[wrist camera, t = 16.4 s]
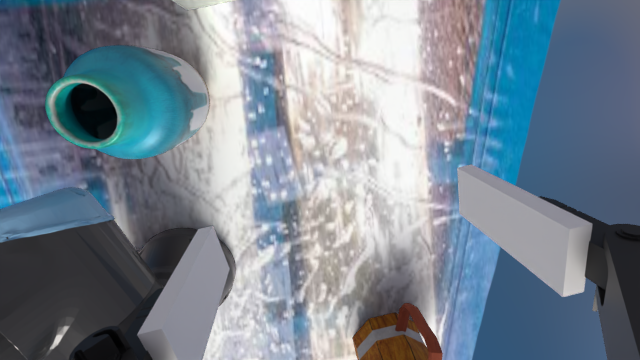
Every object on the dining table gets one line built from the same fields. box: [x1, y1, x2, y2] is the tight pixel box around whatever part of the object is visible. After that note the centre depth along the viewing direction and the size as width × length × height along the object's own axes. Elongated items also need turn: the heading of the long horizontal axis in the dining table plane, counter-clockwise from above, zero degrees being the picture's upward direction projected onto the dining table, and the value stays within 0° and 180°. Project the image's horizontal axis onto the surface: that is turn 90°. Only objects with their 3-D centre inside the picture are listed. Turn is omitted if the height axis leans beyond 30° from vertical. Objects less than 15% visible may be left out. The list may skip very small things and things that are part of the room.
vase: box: [45, 45, 210, 159], centre depth 30 cm, size 11×11×19 cm
